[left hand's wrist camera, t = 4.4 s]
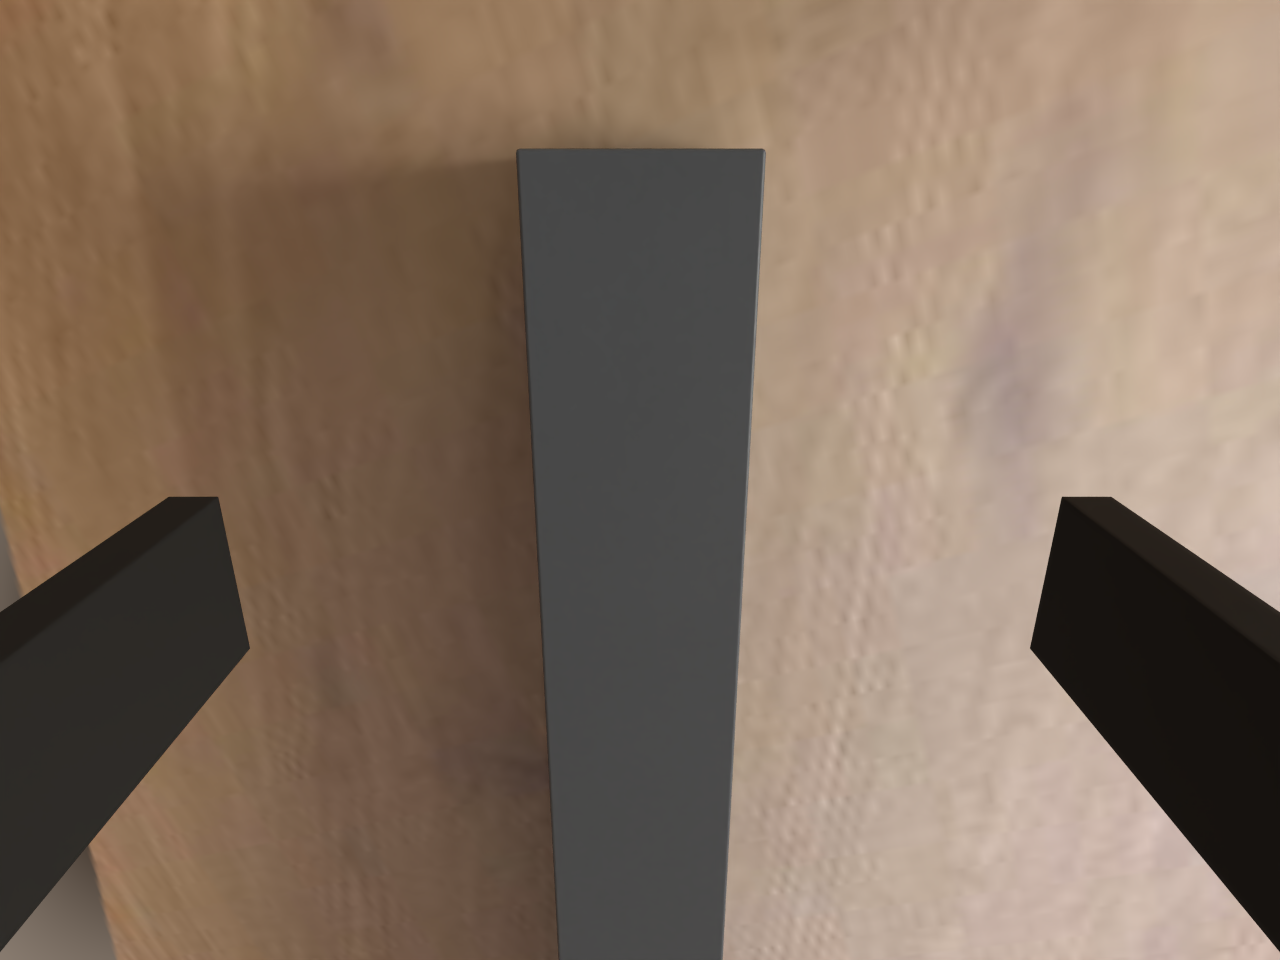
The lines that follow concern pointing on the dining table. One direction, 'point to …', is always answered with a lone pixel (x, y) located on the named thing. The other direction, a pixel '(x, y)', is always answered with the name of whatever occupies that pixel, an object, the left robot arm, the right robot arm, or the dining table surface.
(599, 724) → the beam
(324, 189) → the dining table surface
